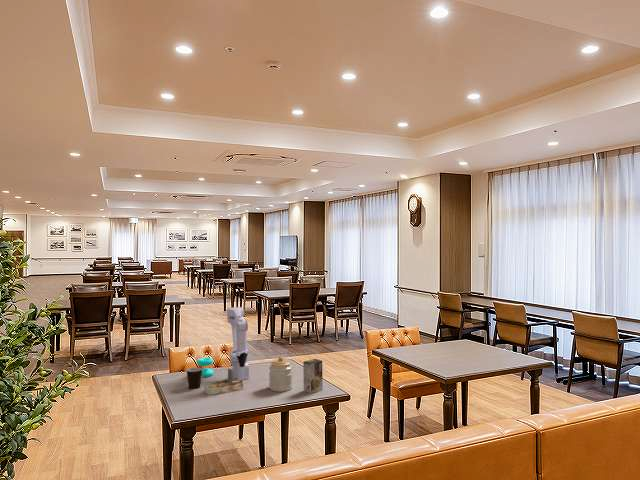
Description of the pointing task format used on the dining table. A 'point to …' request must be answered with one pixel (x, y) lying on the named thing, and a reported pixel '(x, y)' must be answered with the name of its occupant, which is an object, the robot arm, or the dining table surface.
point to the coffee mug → (194, 377)
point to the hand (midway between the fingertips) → (242, 366)
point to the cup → (212, 390)
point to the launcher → (230, 385)
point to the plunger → (230, 376)
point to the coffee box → (312, 375)
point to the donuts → (205, 362)
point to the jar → (280, 375)
